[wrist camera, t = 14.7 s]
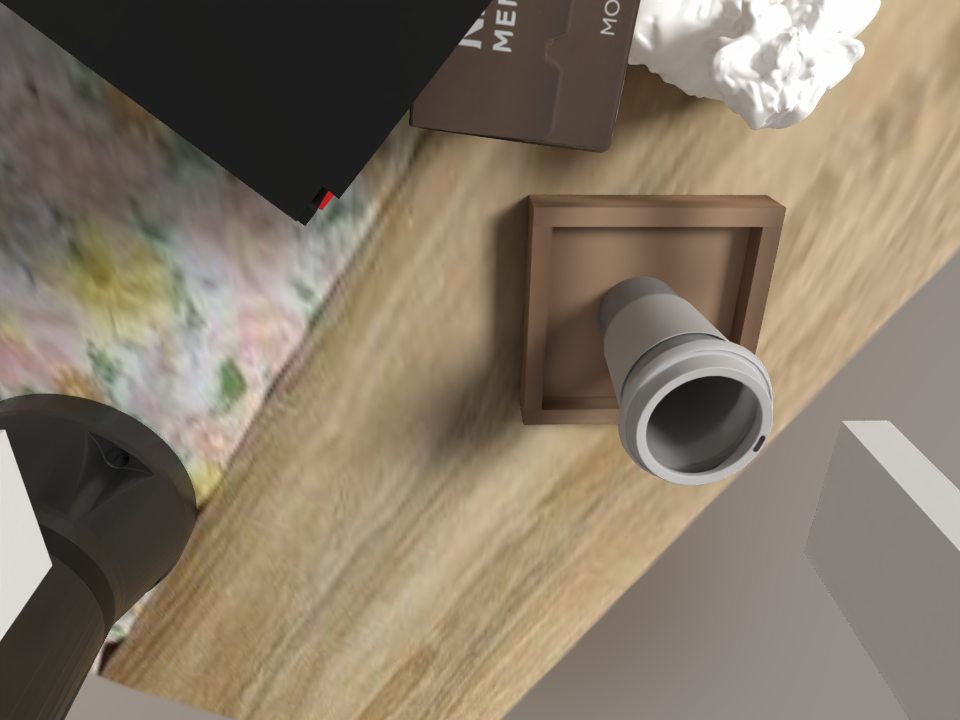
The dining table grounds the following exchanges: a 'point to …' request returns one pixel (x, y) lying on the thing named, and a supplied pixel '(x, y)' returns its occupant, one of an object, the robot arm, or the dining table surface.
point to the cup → (681, 386)
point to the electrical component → (267, 76)
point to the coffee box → (535, 74)
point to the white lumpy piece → (753, 51)
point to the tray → (626, 254)
